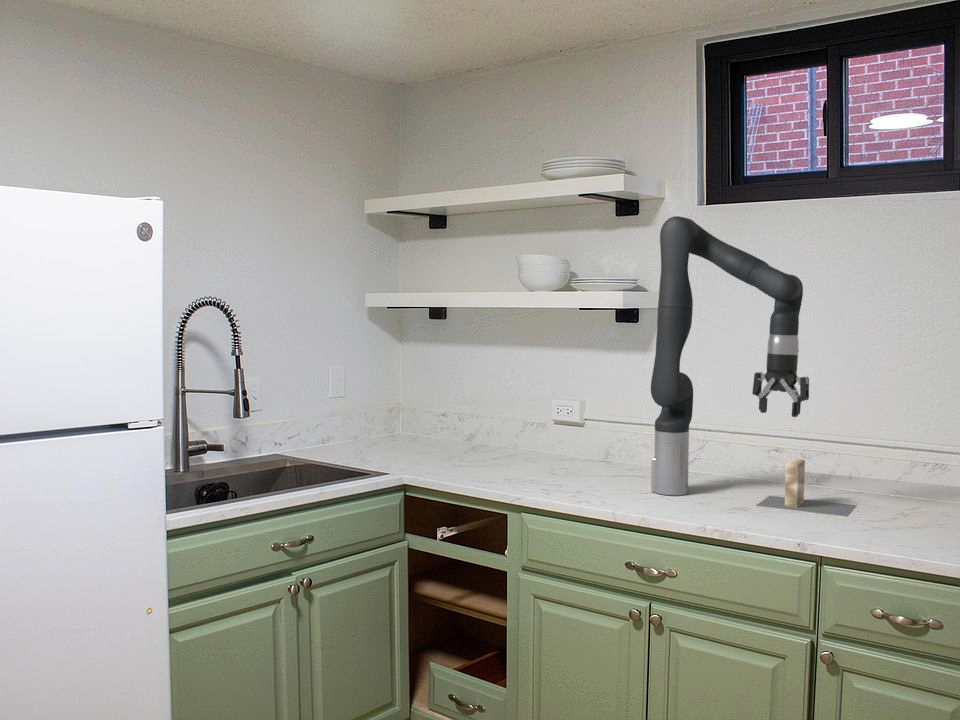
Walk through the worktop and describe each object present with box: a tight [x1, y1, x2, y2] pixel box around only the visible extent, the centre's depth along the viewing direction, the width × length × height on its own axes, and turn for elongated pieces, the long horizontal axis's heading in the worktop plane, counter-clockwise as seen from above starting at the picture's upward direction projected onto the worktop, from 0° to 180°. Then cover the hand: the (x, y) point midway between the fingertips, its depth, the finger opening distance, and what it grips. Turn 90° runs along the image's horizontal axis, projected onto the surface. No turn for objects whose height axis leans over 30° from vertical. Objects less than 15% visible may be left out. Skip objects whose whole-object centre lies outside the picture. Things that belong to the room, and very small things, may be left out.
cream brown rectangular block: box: [784, 458, 806, 508], centre depth 233 cm, size 3×8×11 cm, turn 149°
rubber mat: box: [755, 495, 858, 518], centre depth 232 cm, size 22×14×1 cm, turn 59°
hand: (779, 414), depth 235 cm, fingers open, 8 cm apart
